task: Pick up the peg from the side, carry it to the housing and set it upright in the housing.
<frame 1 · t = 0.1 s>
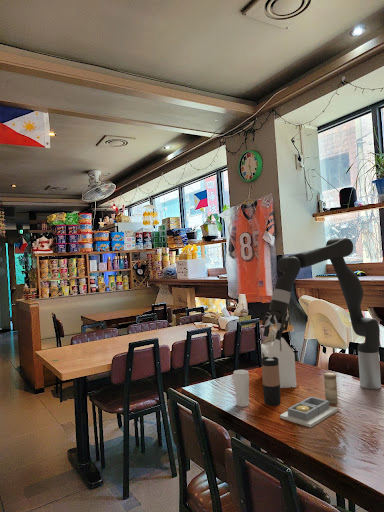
hand: (271, 338, 164), 31 cm above the table, tool tilted 20°, fingers open, 8 cm apart
travel mug: (272, 403, 174), on the table
gable box: (278, 381, 204), on the table
housing: (309, 414, 160), on the table
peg: (331, 401, 172), on the table
white cylinder: (242, 405, 174), on the table
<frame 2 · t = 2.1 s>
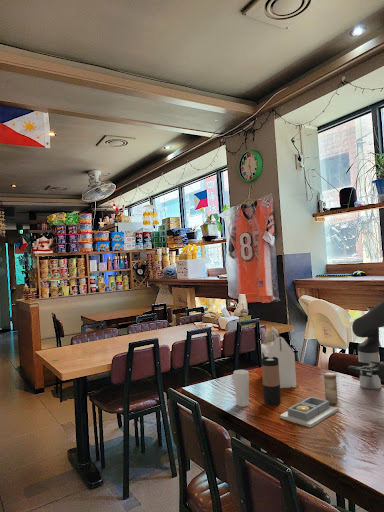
hand: (353, 366, 164), 18 cm above the table, tool horizontal, fingers open, 8 cm apart
nothing on the table moved.
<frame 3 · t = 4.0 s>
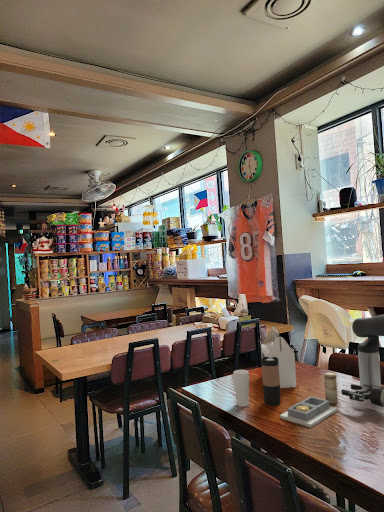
hand: (346, 389, 167), 7 cm above the table, tool horizontal, fingers open, 8 cm apart
nothing on the table moved.
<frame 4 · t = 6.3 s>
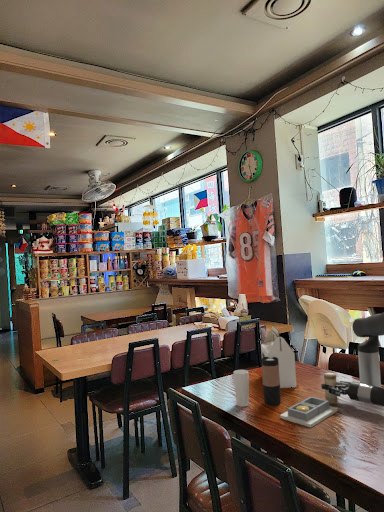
hand: (325, 384, 174), 7 cm above the table, tool horizontal, fingers closed on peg, 5 cm apart
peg: (331, 401, 172), on the table, touching gripper
everything else where it was.
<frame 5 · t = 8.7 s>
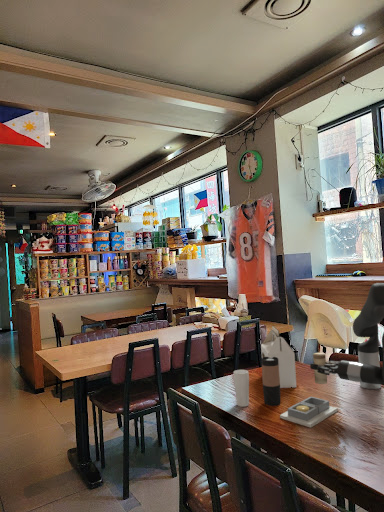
hand: (314, 364, 168), 18 cm above the table, tool horizontal, fingers closed on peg, 5 cm apart
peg: (321, 382, 166), point 11 cm above the table, touching gripper
everything else where it was.
when the fingers open (10 cm above the table, at t = 11.5 s): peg drops 2 cm, resting on housing.
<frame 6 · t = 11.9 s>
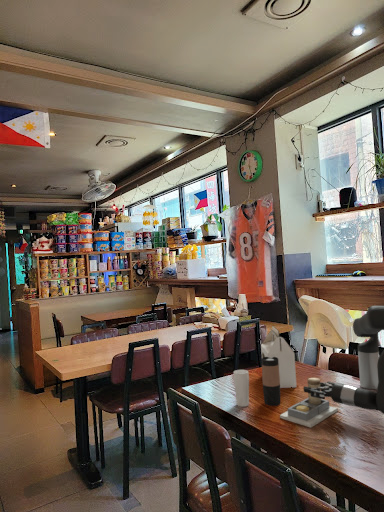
hand: (309, 386, 164), 10 cm above the table, tool horizontal, fingers open, 8 cm apart
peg: (315, 408, 163), point 1 cm above the table, touching housing
everything else where it was.
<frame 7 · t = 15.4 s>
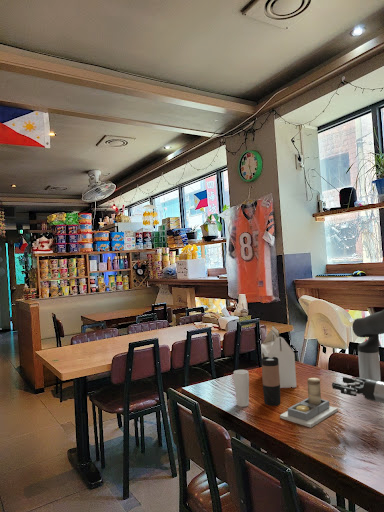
hand: (337, 382, 155), 14 cm above the table, tool horizontal, fingers open, 8 cm apart
nothing on the table moved.
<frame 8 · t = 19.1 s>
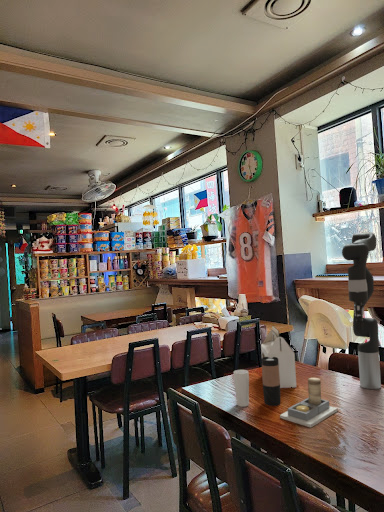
hand: (360, 327, 167), 33 cm above the table, tool pointing down, fingers open, 8 cm apart
nothing on the table moved.
at the end: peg 0.2 cm from the target spot on the housing, point 1.3 cm above the housing's base; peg tilted 2°; the gripper is holding nothing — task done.
